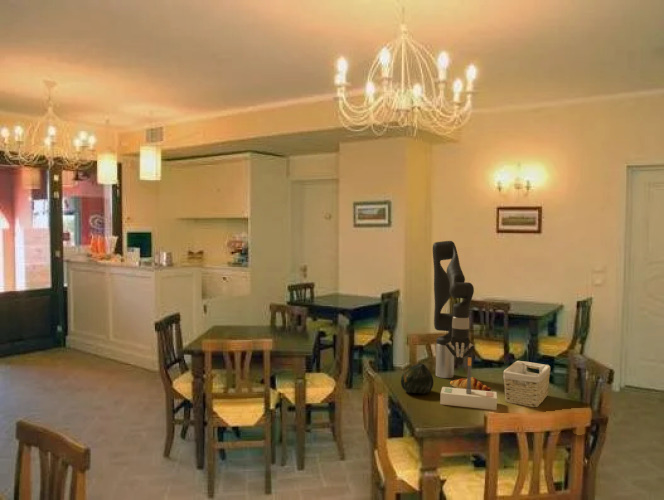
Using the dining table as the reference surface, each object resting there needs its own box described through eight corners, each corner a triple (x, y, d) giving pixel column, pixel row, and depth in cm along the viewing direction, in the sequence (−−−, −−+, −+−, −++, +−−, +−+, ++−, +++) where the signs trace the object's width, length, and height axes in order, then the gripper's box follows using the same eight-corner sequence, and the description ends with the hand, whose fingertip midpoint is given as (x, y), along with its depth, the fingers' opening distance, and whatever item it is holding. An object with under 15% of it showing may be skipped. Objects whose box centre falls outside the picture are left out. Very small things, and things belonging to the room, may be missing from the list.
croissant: (447, 394, 269) (443, 381, 265) (455, 381, 275) (452, 368, 272) (488, 402, 256) (485, 389, 252) (496, 388, 262) (493, 375, 259)
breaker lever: (467, 389, 245) (468, 357, 245) (470, 389, 245) (471, 357, 244) (466, 391, 243) (467, 358, 242) (470, 391, 242) (471, 359, 242)
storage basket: (538, 409, 238) (539, 376, 237) (501, 402, 247) (501, 370, 246) (550, 395, 257) (551, 364, 257) (515, 389, 266) (516, 359, 266)
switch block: (443, 391, 262) (444, 376, 261) (496, 396, 255) (496, 381, 254) (440, 404, 243) (440, 388, 242) (496, 410, 236) (496, 394, 236)
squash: (395, 376, 267) (404, 358, 257) (423, 375, 271) (433, 358, 261) (402, 402, 257) (411, 384, 247) (431, 401, 261) (442, 384, 251)
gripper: (476, 326, 245) (475, 364, 246) (446, 324, 249) (445, 361, 250) (475, 329, 238) (474, 368, 239) (444, 327, 242) (443, 366, 243)
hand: (459, 365), depth 244 cm, fingers closed
